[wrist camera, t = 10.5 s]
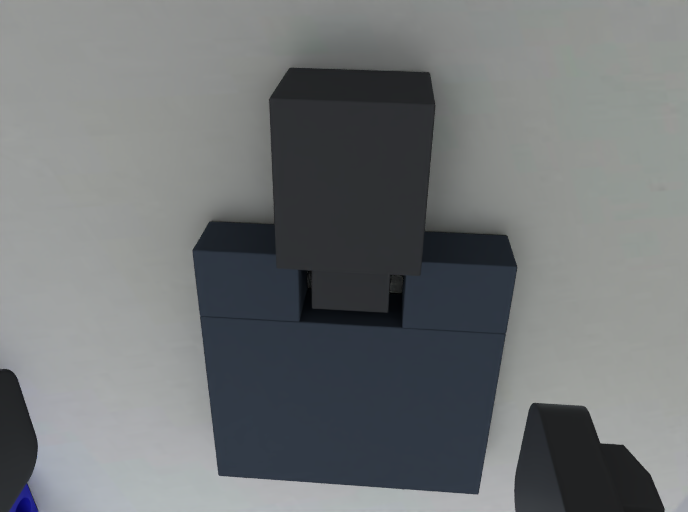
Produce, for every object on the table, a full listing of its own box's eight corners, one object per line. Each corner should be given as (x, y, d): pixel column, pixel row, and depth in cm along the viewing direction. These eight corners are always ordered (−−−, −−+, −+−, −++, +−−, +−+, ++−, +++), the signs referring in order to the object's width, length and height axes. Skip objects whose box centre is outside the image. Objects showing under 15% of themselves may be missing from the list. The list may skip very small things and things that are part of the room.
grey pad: (209, 220, 26) (191, 250, 24) (507, 235, 25) (517, 266, 23) (230, 436, 32) (218, 476, 30) (473, 453, 31) (478, 495, 29)
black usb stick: (288, 67, 23) (268, 97, 19) (430, 72, 22) (435, 103, 19) (294, 278, 27) (278, 334, 24) (412, 284, 27) (414, 342, 23)
